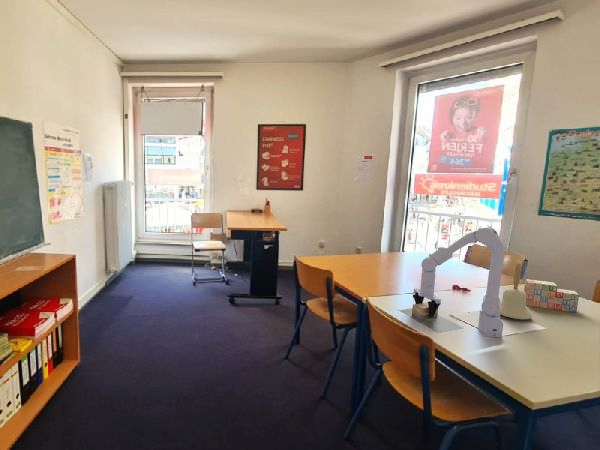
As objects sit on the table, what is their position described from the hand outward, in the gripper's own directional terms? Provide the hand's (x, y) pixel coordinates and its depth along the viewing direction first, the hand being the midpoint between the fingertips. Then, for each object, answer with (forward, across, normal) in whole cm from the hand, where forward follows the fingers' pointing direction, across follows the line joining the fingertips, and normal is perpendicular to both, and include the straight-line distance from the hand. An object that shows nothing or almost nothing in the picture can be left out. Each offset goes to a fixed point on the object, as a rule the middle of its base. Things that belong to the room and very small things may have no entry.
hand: (425, 313), depth 153 cm
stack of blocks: (+3, +8, +73) cm, 73 cm away
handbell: (+3, +10, +43) cm, 44 cm away
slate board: (+2, +3, 0) cm, 4 cm away
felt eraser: (+1, 0, 0) cm, 1 cm away
